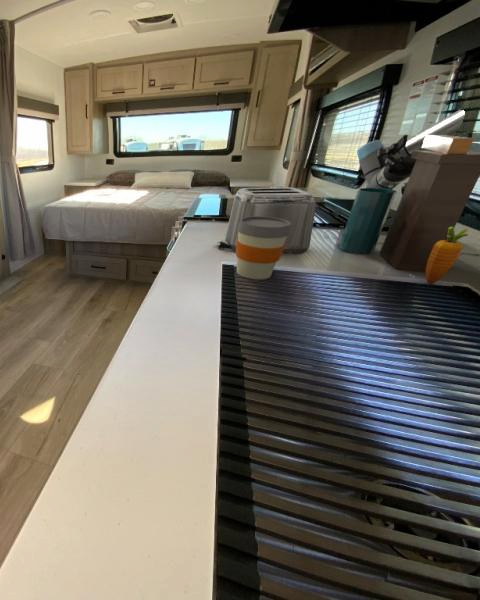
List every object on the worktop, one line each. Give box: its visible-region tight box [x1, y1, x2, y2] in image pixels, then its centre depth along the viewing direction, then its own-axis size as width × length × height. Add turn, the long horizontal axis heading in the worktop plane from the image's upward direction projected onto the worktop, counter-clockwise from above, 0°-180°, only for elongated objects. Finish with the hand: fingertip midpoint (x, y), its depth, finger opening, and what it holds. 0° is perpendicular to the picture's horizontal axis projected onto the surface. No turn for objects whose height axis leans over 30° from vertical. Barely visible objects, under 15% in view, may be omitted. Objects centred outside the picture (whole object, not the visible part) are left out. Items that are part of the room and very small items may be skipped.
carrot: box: [425, 227, 469, 285], centre depth 81 cm, size 5×5×15 cm
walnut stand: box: [379, 150, 480, 273], centre depth 91 cm, size 16×10×30 cm, turn 156°
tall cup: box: [338, 187, 397, 256], centre depth 104 cm, size 9×9×19 cm
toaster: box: [216, 187, 320, 255], centre depth 110 cm, size 17×30×19 cm, turn 81°
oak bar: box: [421, 135, 475, 154], centre depth 88 cm, size 24×4×4 cm, turn 149°
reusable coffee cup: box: [235, 216, 291, 280], centre depth 92 cm, size 13×13×15 cm
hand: (436, 138), depth 92 cm, fingers open, 13 cm apart
